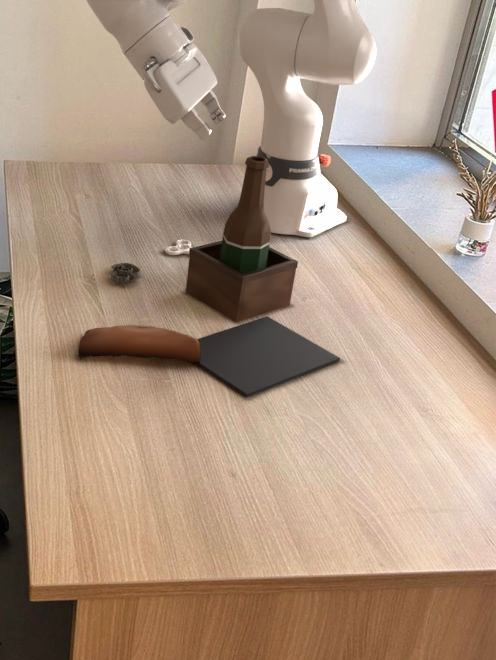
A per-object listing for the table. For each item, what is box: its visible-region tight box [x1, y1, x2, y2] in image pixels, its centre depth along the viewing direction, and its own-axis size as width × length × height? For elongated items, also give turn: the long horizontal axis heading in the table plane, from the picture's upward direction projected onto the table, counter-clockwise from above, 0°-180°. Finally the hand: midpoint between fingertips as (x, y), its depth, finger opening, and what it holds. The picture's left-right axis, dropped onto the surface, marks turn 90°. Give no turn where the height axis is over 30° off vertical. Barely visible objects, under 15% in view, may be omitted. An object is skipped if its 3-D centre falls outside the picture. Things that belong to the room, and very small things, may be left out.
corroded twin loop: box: [108, 262, 141, 286], centre depth 163 cm, size 5×8×1 cm, turn 173°
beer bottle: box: [220, 155, 272, 274], centre depth 154 cm, size 8×8×24 cm
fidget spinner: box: [164, 239, 194, 256], centre depth 175 cm, size 7×6×1 cm
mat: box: [192, 316, 341, 398], centre depth 145 cm, size 20×16×1 cm
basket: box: [185, 239, 299, 323], centre depth 159 cm, size 13×13×8 cm
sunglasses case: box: [77, 324, 201, 364], centre depth 141 cm, size 18×7×7 cm
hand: (214, 128), depth 147 cm, fingers open, 8 cm apart
